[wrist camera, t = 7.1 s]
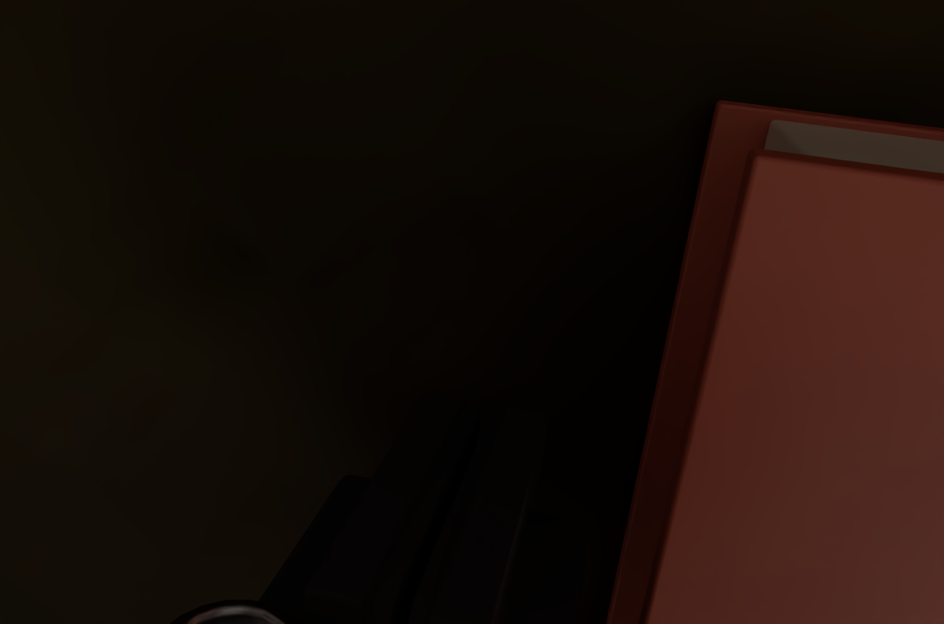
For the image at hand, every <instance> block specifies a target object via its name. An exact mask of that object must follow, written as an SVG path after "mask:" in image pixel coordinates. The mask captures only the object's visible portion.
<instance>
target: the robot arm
mask: <svg viewBox="0 0 944 624" xmlns="http://www.w3.org/2000/svg"><path fill="white" fill-rule="evenodd" d="M547 424H548V413H543V412H537V411H532V410H526V409H520V408H515V407H509V406H507V408H506V410H505V413H504V416H498V415H493V414H490V415H489V417H488V419H487V421H486V424H485V426H484V429H483V431H482V433H481V436H480V438H479V441H478V435H479V425H480V413H479V412H477V411H471V410H467V401H466V399H465V398H459V397H454V396H448V395H443V394H437V393H431V392H425V393H424V394H423V395H422V397H421V399H420V400H419V402H418V404H417V405H416V407H415V408H414V410H413V412H412V413H411V415H410V417H409V418H408V420H407V422H406V423H405V425H404V427H403V428H402V430H401V431H400V433H399V435H398V436H397V438H396V440H395V441H394V443H393V445H392V446H391V448H390V450H389V451H388V453H387V454H386V456H385V458H384V459H383V461H382V463H381V464H380V466H379V468H378V469H377V471H376V473H375V474H374V476H373V477H372V479H369V478H364V477H359V476H354V475H346V476H344V477H343V478H342V479H341V480H340V481H339V483H338V484H337V486H336V487H335V488H334V490H333V491H332V493H331V494H330V496H329V497H328V499H327V500H326V502H325V503H324V505H323V506H322V508H321V509H320V511H319V512H318V514H317V515H316V517H315V518H314V520H313V521H312V523H311V524H310V526H309V527H308V529H307V530H306V532H305V533H304V535H303V536H302V538H301V539H300V540H299V542H298V543H297V545H296V546H295V548H294V549H293V551H292V552H291V554H290V555H289V557H288V558H287V560H286V561H285V563H284V564H283V566H282V567H281V569H280V570H279V572H278V573H277V575H276V576H275V578H274V579H273V581H272V582H271V584H270V585H269V587H268V588H267V590H266V591H265V592H264V594H263V595H262V597H261V598H260V600H259V601H258V602H257V601H253V600H224V601H220V602H215V603H211V604H206V605H203V606H200V607H198V608H196V609H194V610H191V611H189V612H187V613H185V614H183V615H181V616H180V617H178V618H177V619H176V620H174V621H173V622H172V623H170V624H577V618H578V610H579V603H580V595H581V587H582V580H583V572H584V565H585V557H586V550H587V542H588V535H589V527H590V523H588V522H583V521H578V520H573V519H568V518H563V517H558V516H553V515H548V514H543V513H538V512H536V506H537V499H538V492H539V484H540V477H541V469H542V462H543V454H544V447H545V440H546V432H547Z"/></svg>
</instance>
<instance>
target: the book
mask: <svg viewBox="0 0 944 624" xmlns="http://www.w3.org/2000/svg"><path fill="white" fill-rule="evenodd" d="M606 624H944V128H936V127H929V126H921V125H913V124H905V123H897V122H889V121H881V120H873V119H866V118H858V117H850V116H842V115H834V114H826V113H818V112H810V111H802V110H795V109H787V108H779V107H771V106H763V105H755V104H747V103H739V102H732V101H724V100H720V101H717V103H716V106H715V110H714V115H713V120H712V124H711V129H710V134H709V139H708V143H707V148H706V153H705V157H704V162H703V167H702V172H701V176H700V181H699V186H698V190H697V195H696V200H695V205H694V209H693V214H692V219H691V223H690V228H689V233H688V238H687V242H686V247H685V252H684V257H683V261H682V266H681V271H680V275H679V280H678V285H677V290H676V294H675V299H674V304H673V308H672V313H671V318H670V323H669V327H668V332H667V337H666V341H665V346H664V351H663V356H662V360H661V365H660V370H659V375H658V379H657V384H656V389H655V393H654V398H653V403H652V408H651V412H650V417H649V422H648V426H647V431H646V436H645V441H644V445H643V450H642V455H641V459H640V464H639V469H638V474H637V478H636V483H635V488H634V493H633V497H632V502H631V507H630V511H629V516H628V521H627V526H626V530H625V535H624V540H623V544H622V549H621V554H620V559H619V563H618V568H617V573H616V577H615V582H614V587H613V592H612V596H611V601H610V606H609V610H608V615H607V620H606Z"/></svg>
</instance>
